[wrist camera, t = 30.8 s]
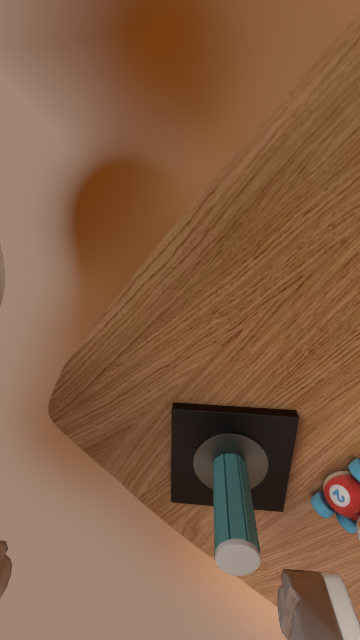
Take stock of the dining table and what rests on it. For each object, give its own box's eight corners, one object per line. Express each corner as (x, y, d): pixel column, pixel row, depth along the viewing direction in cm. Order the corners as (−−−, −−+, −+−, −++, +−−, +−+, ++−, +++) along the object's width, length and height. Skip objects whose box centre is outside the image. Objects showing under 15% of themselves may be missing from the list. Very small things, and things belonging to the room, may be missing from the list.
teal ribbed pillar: (212, 477, 42) (213, 573, 31) (214, 451, 41) (216, 542, 30) (244, 480, 42) (258, 578, 31) (247, 454, 41) (262, 546, 29)
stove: (172, 493, 46) (170, 504, 45) (173, 402, 41) (171, 410, 39) (280, 502, 45) (283, 514, 44) (296, 410, 40) (299, 418, 38)
